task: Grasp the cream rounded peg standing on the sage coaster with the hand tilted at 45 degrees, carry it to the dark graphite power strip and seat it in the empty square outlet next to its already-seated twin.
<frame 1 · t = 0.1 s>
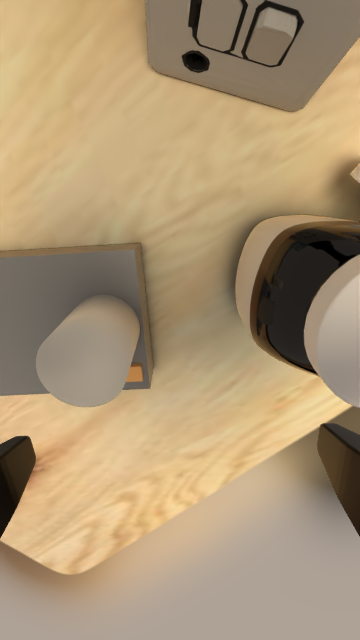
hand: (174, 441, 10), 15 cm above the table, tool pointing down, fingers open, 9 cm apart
spread jar: (317, 246, 22), on the table
electrical switch: (233, 39, 18), on the table
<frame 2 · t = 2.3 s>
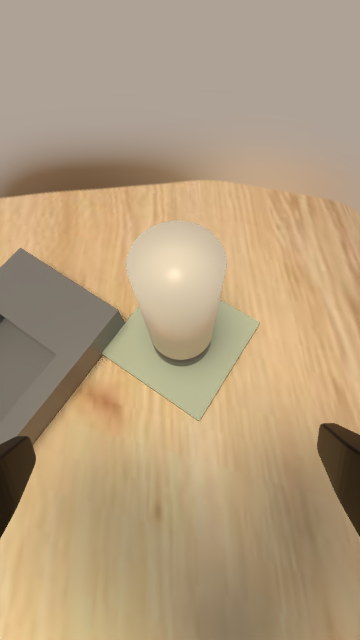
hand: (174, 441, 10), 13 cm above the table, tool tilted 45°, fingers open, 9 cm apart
coaster: (181, 339, 25), on the table
cream rounded peg: (181, 337, 24), resting on coaster
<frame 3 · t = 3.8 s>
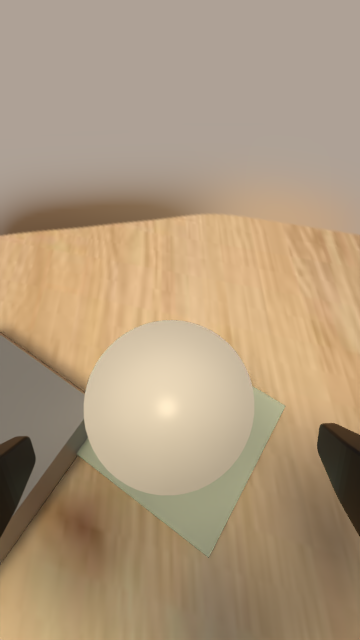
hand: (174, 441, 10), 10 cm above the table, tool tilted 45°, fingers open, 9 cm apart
coaster: (182, 430, 19), on the table
cream rounded peg: (182, 429, 18), resting on coaster
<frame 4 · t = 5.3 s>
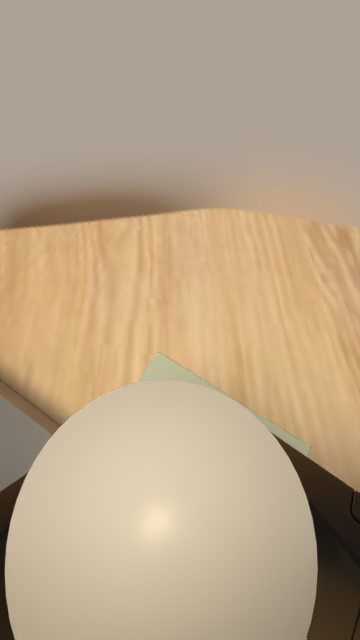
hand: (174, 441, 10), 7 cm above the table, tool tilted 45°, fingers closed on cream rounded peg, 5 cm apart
coaster: (182, 477, 15), on the table
cream rounded peg: (182, 477, 15), resting on coaster, touching gripper
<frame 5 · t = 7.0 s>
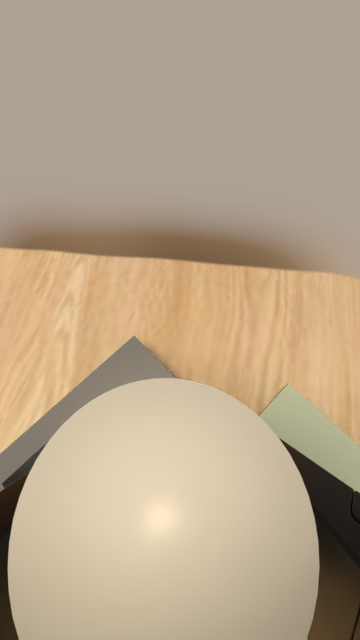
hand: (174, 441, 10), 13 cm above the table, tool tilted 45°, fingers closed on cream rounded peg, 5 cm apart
coaster: (298, 478, 21), on the table
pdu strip: (54, 522, 21), on the table
cream rounded peg: (183, 476, 15), point 7 cm above the table, touching gripper
when the fingers open (8 cm above the table, at t = 9.1 s): cream rounded peg drops 1 cm, resting on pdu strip.
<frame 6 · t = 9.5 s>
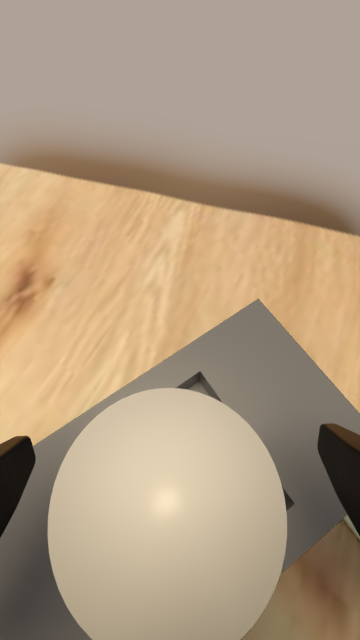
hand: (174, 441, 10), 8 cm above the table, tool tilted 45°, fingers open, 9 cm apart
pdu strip: (126, 516, 16), on the table
cream rounded peg: (183, 476, 16), point 1 cm above the table, touching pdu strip
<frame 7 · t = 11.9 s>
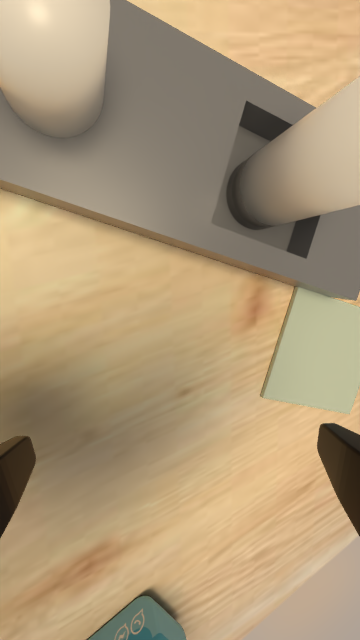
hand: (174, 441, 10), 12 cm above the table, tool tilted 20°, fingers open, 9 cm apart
coaster: (322, 353, 26), on the table
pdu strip: (209, 176, 21), on the table
cream rounded peg: (257, 194, 21), point 1 cm above the table, touching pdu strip
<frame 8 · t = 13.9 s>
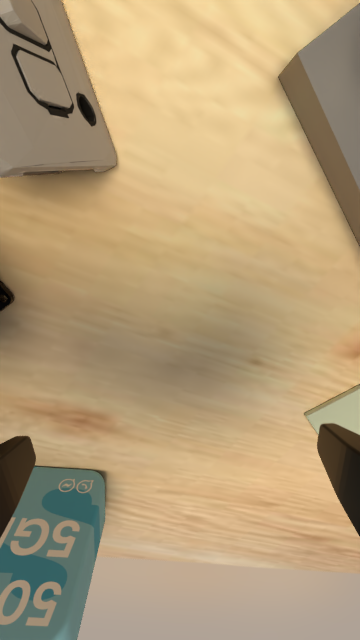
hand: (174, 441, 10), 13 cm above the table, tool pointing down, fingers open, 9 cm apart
data package: (43, 482, 28), on the table
electrical switch: (48, 100, 17), on the table
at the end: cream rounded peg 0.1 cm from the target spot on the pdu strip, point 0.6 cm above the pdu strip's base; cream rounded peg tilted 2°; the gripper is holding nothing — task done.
